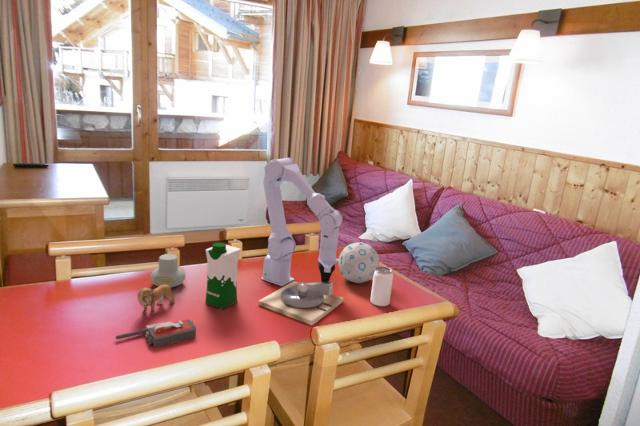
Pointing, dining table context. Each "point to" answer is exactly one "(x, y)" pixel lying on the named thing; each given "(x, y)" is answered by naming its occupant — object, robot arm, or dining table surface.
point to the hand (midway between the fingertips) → (324, 283)
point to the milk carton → (222, 275)
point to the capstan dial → (306, 295)
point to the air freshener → (168, 272)
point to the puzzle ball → (358, 262)
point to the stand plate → (302, 315)
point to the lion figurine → (154, 297)
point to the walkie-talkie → (165, 332)
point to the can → (381, 286)
